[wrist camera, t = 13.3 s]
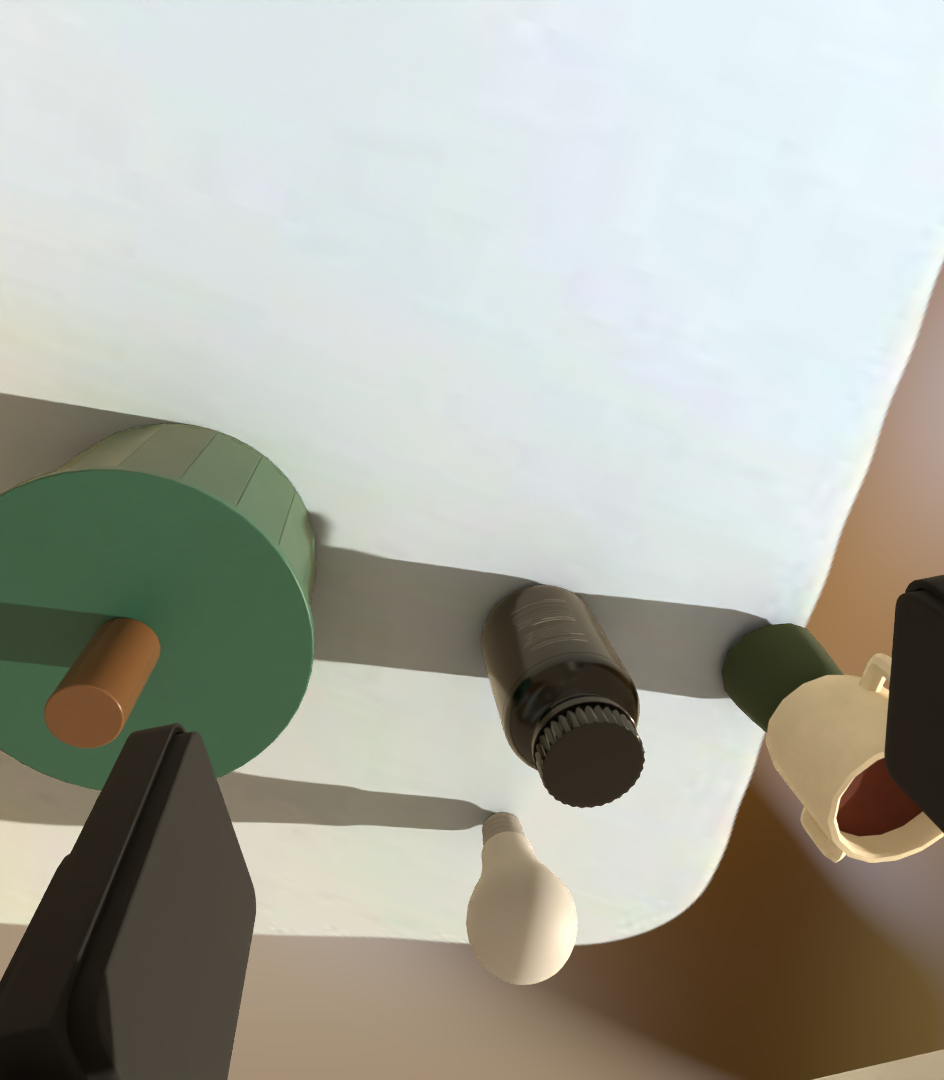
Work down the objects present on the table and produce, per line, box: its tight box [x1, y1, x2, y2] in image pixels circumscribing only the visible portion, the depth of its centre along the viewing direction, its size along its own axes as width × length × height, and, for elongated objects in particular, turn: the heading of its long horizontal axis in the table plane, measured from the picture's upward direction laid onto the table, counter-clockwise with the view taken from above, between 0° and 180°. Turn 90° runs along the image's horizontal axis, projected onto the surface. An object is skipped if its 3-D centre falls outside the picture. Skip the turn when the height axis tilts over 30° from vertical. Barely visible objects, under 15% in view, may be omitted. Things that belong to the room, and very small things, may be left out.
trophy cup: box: [722, 623, 944, 863], centre depth 41 cm, size 11×7×13 cm, turn 168°
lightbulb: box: [466, 812, 578, 985], centre depth 44 cm, size 6×6×11 cm
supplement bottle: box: [481, 585, 645, 808], centre depth 39 cm, size 7×7×12 cm
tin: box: [55, 424, 316, 605], centre depth 35 cm, size 14×14×10 cm
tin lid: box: [0, 466, 315, 790], centre depth 29 cm, size 15×15×6 cm
